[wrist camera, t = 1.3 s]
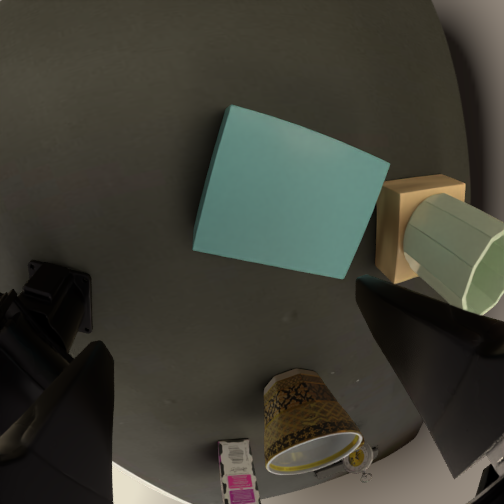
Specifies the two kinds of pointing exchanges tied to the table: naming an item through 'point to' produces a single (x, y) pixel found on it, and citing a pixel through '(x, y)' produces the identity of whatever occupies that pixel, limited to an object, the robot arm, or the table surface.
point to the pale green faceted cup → (457, 252)
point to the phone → (337, 467)
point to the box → (285, 195)
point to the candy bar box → (237, 472)
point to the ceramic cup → (305, 424)
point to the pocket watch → (359, 461)
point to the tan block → (404, 218)
